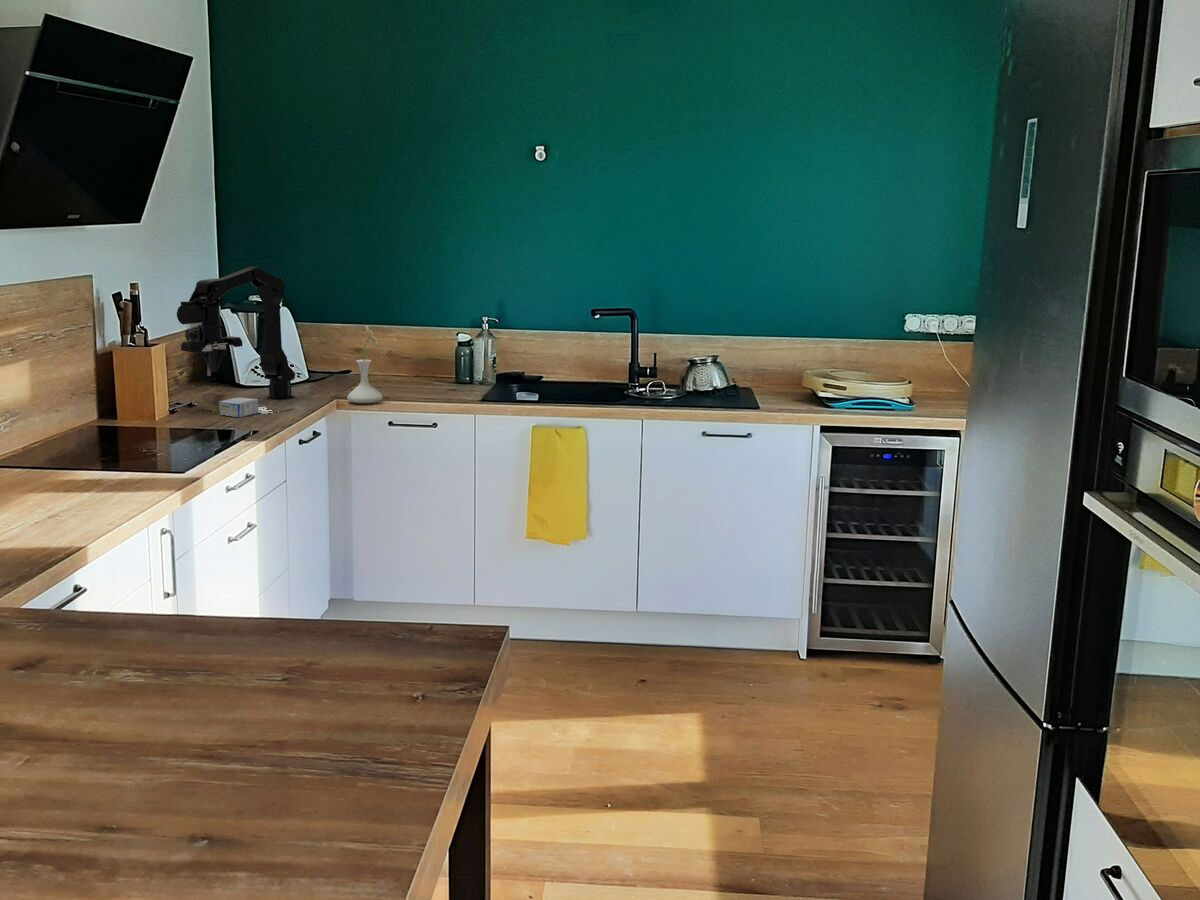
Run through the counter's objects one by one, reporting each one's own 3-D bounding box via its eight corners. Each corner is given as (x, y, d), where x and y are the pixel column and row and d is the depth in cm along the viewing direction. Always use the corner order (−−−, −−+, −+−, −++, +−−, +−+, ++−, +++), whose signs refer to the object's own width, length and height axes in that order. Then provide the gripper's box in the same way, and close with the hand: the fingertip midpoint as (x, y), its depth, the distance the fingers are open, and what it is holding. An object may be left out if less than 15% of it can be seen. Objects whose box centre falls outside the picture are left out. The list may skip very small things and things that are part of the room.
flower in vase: (374, 406, 374) (372, 328, 368) (341, 404, 376) (338, 327, 371) (390, 399, 386) (387, 324, 381) (357, 398, 388) (355, 323, 383)
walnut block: (217, 407, 369) (216, 392, 368) (226, 409, 366) (226, 393, 365) (203, 410, 365) (202, 394, 364) (213, 411, 362) (212, 395, 361)
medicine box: (240, 410, 363) (219, 415, 356) (239, 396, 362) (218, 401, 354) (259, 412, 359) (238, 418, 352) (258, 398, 358) (237, 403, 351)
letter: (267, 404, 375) (267, 403, 375) (295, 409, 367) (295, 408, 367) (235, 409, 366) (235, 408, 366) (264, 414, 357) (264, 414, 357)
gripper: (219, 317, 371) (222, 366, 375) (168, 322, 356) (171, 373, 360) (242, 319, 365) (245, 369, 368) (190, 324, 350) (194, 376, 353)
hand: (213, 371), depth 363 cm, fingers closed
